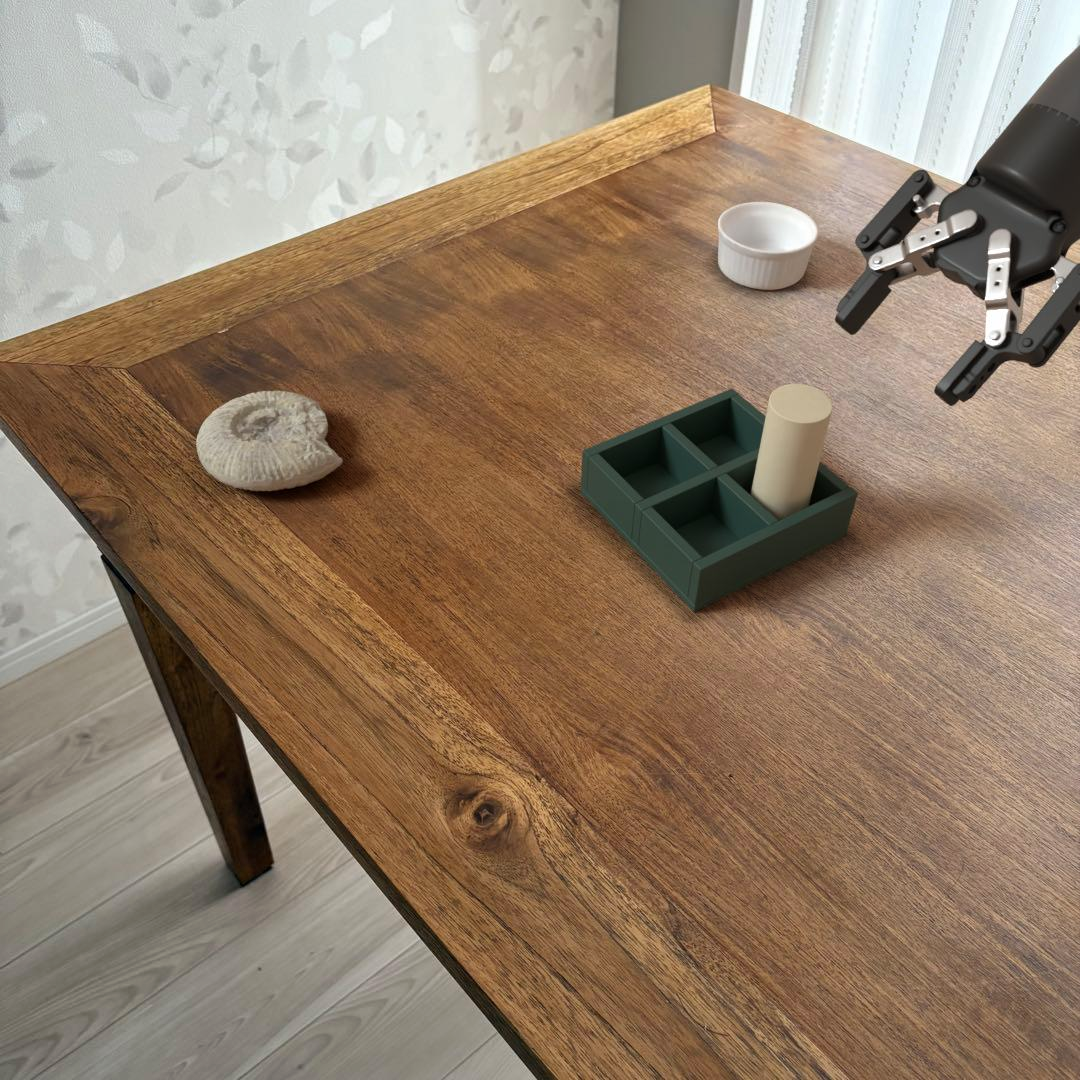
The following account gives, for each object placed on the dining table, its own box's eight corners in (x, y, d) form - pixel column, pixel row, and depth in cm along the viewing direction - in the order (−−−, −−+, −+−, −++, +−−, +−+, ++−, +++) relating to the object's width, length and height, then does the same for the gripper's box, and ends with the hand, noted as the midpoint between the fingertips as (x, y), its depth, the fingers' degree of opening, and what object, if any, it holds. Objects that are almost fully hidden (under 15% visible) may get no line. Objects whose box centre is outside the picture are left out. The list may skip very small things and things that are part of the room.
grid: (846, 535, 77) (858, 492, 75) (693, 612, 72) (700, 570, 70) (725, 430, 85) (732, 387, 82) (580, 493, 80) (582, 450, 77)
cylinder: (817, 521, 77) (846, 409, 70) (772, 543, 76) (798, 430, 69) (779, 488, 80) (803, 376, 73) (735, 508, 78) (756, 396, 71)
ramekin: (762, 233, 106) (769, 191, 103) (830, 274, 101) (840, 232, 98) (692, 261, 102) (697, 219, 99) (759, 306, 97) (766, 263, 94)
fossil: (365, 420, 80) (252, 499, 75) (374, 456, 82) (266, 534, 78) (272, 352, 85) (162, 423, 81) (284, 388, 88) (178, 458, 84)
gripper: (966, 61, 66) (788, 284, 70) (1175, 158, 58) (959, 404, 62) (1001, 126, 72) (834, 328, 76) (1195, 222, 64) (997, 444, 67)
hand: (891, 362), depth 69 cm, fingers open, 8 cm apart
